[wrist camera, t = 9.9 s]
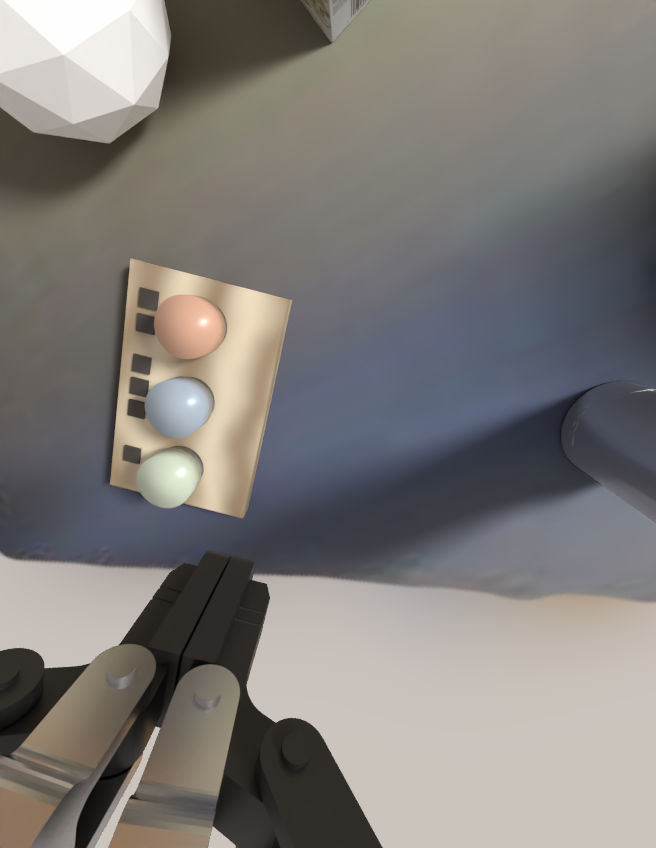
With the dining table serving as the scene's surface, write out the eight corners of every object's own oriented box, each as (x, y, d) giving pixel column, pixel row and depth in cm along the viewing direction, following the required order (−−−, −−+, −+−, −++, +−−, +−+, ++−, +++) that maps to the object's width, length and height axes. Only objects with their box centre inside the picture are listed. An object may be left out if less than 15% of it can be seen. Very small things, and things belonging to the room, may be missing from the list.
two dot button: (229, 304, 32) (220, 303, 30) (220, 362, 34) (210, 366, 32) (171, 288, 32) (157, 287, 30) (164, 347, 34) (150, 350, 32)
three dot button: (216, 384, 35) (206, 389, 32) (208, 435, 36) (197, 444, 34) (161, 369, 34) (147, 374, 32) (155, 422, 36) (141, 430, 34)
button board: (292, 300, 35) (287, 299, 33) (248, 508, 42) (240, 522, 39) (142, 261, 35) (125, 257, 33) (121, 476, 42) (105, 487, 39)
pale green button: (204, 455, 37) (194, 465, 34) (196, 501, 38) (186, 514, 36) (152, 442, 36) (139, 450, 34) (147, 488, 38) (133, 500, 36)
